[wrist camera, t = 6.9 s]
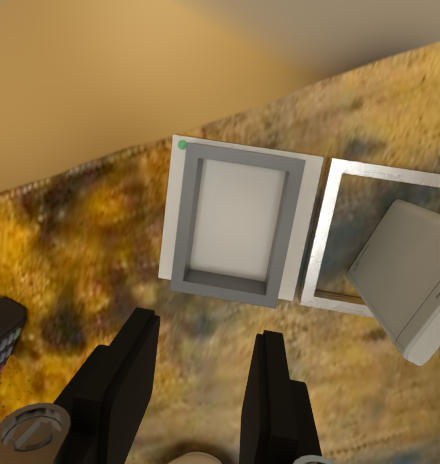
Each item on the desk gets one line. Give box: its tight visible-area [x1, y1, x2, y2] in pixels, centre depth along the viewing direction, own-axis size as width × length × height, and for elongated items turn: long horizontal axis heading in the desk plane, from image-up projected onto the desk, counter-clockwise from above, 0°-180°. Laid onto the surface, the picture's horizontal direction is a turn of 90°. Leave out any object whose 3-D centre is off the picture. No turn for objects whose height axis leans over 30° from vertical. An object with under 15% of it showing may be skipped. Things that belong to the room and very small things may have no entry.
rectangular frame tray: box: [298, 158, 440, 318], centre depth 30 cm, size 11×13×2 cm
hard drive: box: [347, 199, 440, 366], centre depth 25 cm, size 2×8×12 cm, turn 154°
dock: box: [158, 135, 324, 309], centre depth 29 cm, size 13×13×4 cm
